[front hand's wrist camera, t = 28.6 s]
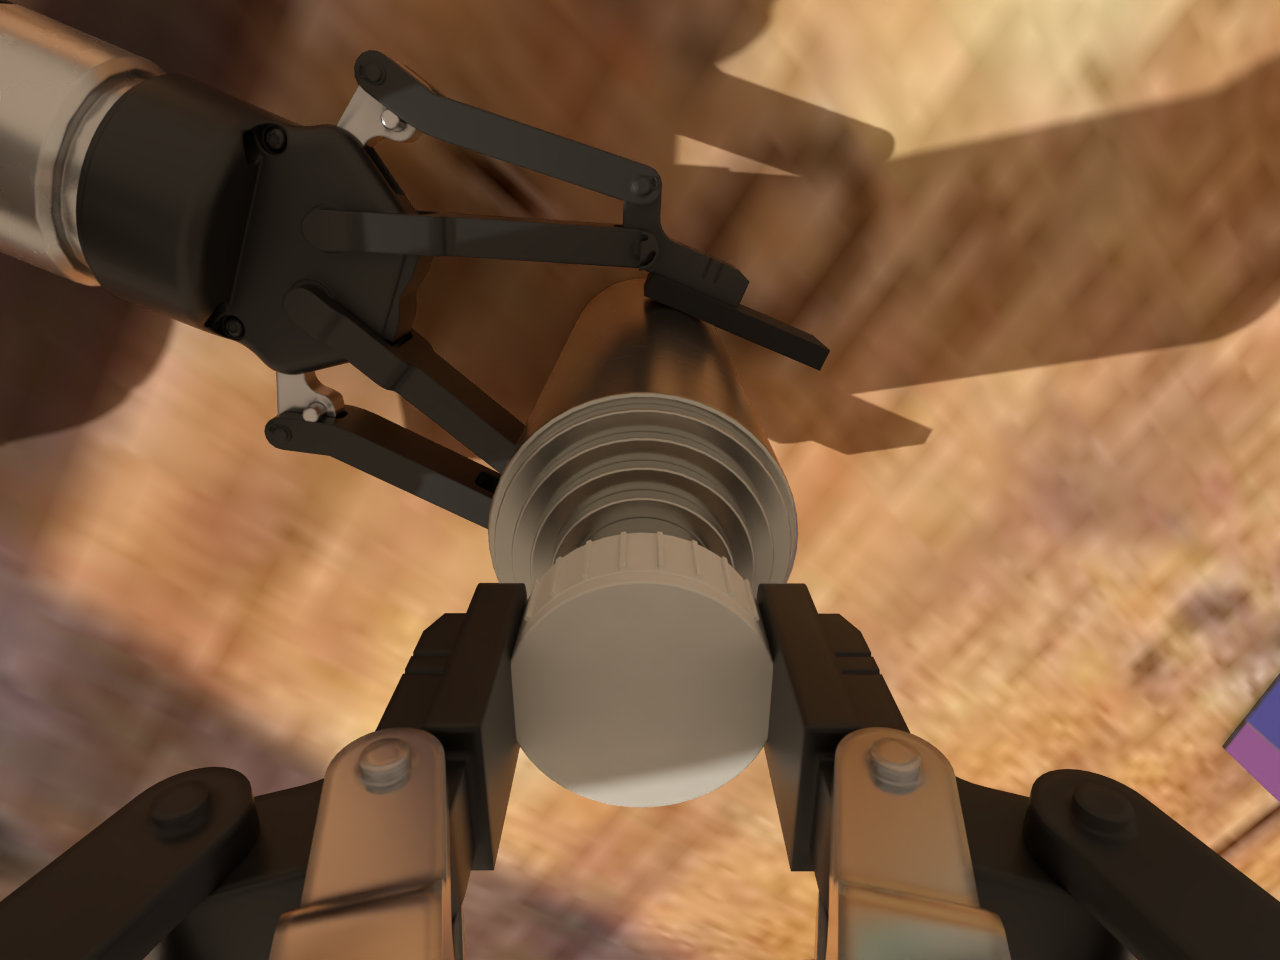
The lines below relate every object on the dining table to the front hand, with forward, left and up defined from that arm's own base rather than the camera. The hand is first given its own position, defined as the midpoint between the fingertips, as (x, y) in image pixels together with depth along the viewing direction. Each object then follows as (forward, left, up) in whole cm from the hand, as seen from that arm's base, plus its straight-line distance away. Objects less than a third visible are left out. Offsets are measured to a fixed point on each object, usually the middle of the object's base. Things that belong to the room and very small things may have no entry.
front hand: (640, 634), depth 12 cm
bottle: (0, 0, -22) cm, 22 cm away
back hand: (-5, 0, -16) cm, 17 cm away
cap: (0, 0, +1) cm, 1 cm away
